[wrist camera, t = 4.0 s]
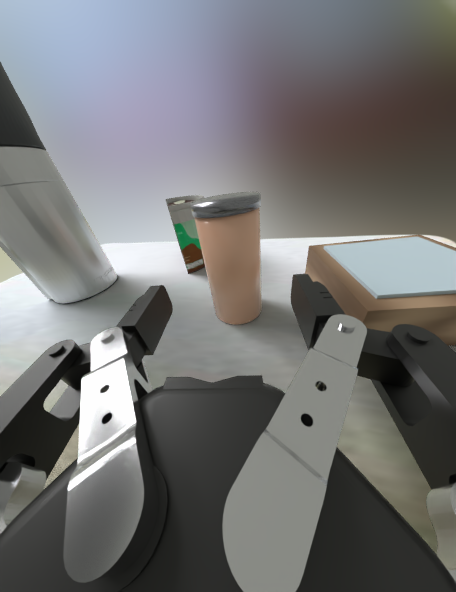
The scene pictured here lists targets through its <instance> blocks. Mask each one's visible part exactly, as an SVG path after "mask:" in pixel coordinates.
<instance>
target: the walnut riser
mask: <svg viewBox="0 0 456 592" xmlns="http://www.w3.org/2000/svg"><path fill="white" fill-rule="evenodd" d="M305 274H308V275H309V276H310V278H311V279H312V281H313V282H314V281H318V282H320V283H321V284H323V285H324V286H326V288H327V289H328V291H329V293H331V295H332V296H333V298H334V299H335V300H336V302H337V303H338V304H339V306H340V307H341V309H342V310H343V311H344V313H345V314H346V315H349V316H352V317H354V318H356V319H358V320H360V321H361V322H362V323H363V324H364V325H365V326H366V328H369V329H375V330H380V331H386V332H391V331H392V329H393V327H395V326H396V325H399V324H410V325H415V326H418V327H421V328H424V329H426V330H428V331H430V332H432V333H434V334H435V335H436V336H438V337H439V338H440V339H441V340H442V341H443V342H444V343H445V344H446V345H456V248H454V247H452V246H449V245H446V244H443V243H441V242H438V241H435V240H433V239H430V238H427V237H424V236H422V235H412V236H402V237H392V238H382V239H373V240H363V241H353V242H343V243H334V244H324V245H314V246H309V251H308V257H307V264H306V271H305Z"/></svg>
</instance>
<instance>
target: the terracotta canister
mask: <svg viewBox="0 0 456 592" xmlns="http://www.w3.org/2000/svg"><path fill="white" fill-rule="evenodd" d="M260 206H261V199H260V193H259V192H240V193H231V194H224V195H218V196H212V197H207V198H203V199H199V200H196V201H193V202H191V203H190V207H191V211H192V215H193V216H194V219H195V223H196V227H197V232H198V236H199V241H200V245H201V250H202V254H203V259H204V263H205V268H206V272H207V277H208V281H209V286H210V290H211V295H212V299H213V304H214V308H215V312H216V316H217V317H218V318H219V319H220V320H221V321H223V322H225V323H228V324H234V325H239V324H245V323H248V322H251V321H253V320H254V319H256V318H257V317H258V316H259V314H260V313H261V309H262V302H261V258H260V213H259V207H260Z"/></svg>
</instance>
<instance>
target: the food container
mask: <svg viewBox="0 0 456 592" xmlns="http://www.w3.org/2000/svg"><path fill="white" fill-rule="evenodd" d="M203 198H204V197H203V196H202V195H192V196H183V197H175V198H169V199H166V202H167V206H168V209H169V212H170V216H171V219H172V222H173V226H174V229H175V232H176V236H177V239H178V243H179V246H180V249H181V253H182V256H183V259H184V262H185V265H186V268H187V271H188V274H189V273H192V272H195V271H197V270H200V269H202V268H204V267H205V263H204V259H203V254H202V250H201V245H200V241H199V236H198V232H197V227H196V223H195V219H194V216H193V215H192V211H191V207H190V203H191V202H193V201H196V200H199V199H203Z"/></svg>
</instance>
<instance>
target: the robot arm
mask: <svg viewBox="0 0 456 592" xmlns="http://www.w3.org/2000/svg"><path fill="white" fill-rule="evenodd" d="M0 247H1V248H2V249H3V250H4V251H5V253H7V255H8V256H9V257H10V258H11V259H12V260H13V261H14V262H15V264H16V265H17V266H18V267H19V268H20V269H21V270H22V271H23V272H24V273H25V275H26V276H27V277H28V278H29V279H30V280H31V281H32V282H33V283H34V284H35V286H36V287H37V288H38V289H39V290H40V291H41V292H42V293H43V294H44V295H45V297H46V298H47V299H53V300H54V301H55V302H57V303H70V302H76V301H79V300H83V299H85V298H88V297H91V296H93V295H95V294H98V293H99V292H101V291H103V290H105V289H106V288H108V287H109V286H111V285H112V284H113V283H114V282H115V281H116V279H117V274H116V273H115V271H114V269H113V267H112V266H111V264H110V262H109V260H108V258H107V257H106V255H105V253H104V251H103V249H102V248H101V246H100V244H99V242H98V240H97V239H96V237H95V235H94V233H93V232H92V230H91V228H90V226H89V225H88V223H87V221H86V219H85V218H84V216H83V214H82V212H81V210H80V209H79V207H78V205H77V203H76V202H75V200H74V198H73V196H72V195H71V193H70V191H69V189H68V187H67V186H66V184H65V182H64V181H63V179H62V177H61V175H60V173H59V172H58V170H57V168H56V166H55V165H54V163H53V161H52V159H51V158H50V156H49V154H48V152H47V151H46V149H45V147H44V145H43V144H42V142H41V140H40V138H39V136H38V135H37V132H36V130H35V128H34V126H33V123H32V121H31V119H30V117H29V115H28V113H27V111H26V109H25V107H24V106H23V104H22V102H21V100H20V98H19V97H18V95H17V93H16V91H15V89H14V88H13V85H12V84H11V82H10V80H9V78H8V76H7V74H6V72H5V70H4V68H3V66H2V64H1V62H0ZM291 305H292V308H293V310H294V313H295V316H296V318H297V321H298V323H299V326H300V329H301V331H302V334H303V337H304V339H305V342H306V344H307V347H308V350H309V351H308V353H307V355H306V357H305V359H304V360H303V362H302V364H301V366H300V368H299V370H298V371H297V373H296V375H295V377H294V379H293V381H292V382H291V384H290V386H289V388H288V390H287V392H286V394H285V393H284V392H282V391H281V390H279V389H277V388H276V387H273V386H271V385H268V384H265V383H263V380H262V376H236V377H232V378H228V379H225V380H221V381H218V382H214V383H210V382H206V381H203V380H199V379H195V378H191V377H167V378H166V381H165V384H164V386H161V387H159V388H156V389H154V390H153V388H152V385H151V382H150V379H149V376H148V373H147V370H146V366H145V363H144V361H143V360H142V358H143V356H144V355H153V353H154V351H155V349H156V347H157V345H158V343H159V340H160V338H161V336H162V334H163V332H164V329H165V327H166V325H167V323H168V321H169V319H170V316H171V314H172V310H173V308H172V303H171V301H170V298H169V296H168V293H167V291H166V289H165V287H164V286H163V285H160V286H151V287H150V288H149V289H148V290H147V292H146V293H145V294H144V295H142V296H141V297H140V298H138V299H137V300H136V301H135V303H134V304H133V306H132V307H131V308H130V309H129V311H128V312H127V313H126V314H125V316H124V317H123V318H122V320H121V321H120V322H119V324H118V325H117V326H116V327H112V328H109V329H106V330H104V331H102V332H101V333H99V334H98V335H97V336H96V337H95V338H94V339H93V340H92V342H91V343H87V344H84V345H80V346H78V345H77V344H76V343H75V342H74V341H73V340H65V341H61V342H59V343H57V344H55V345H53V346H52V347H50V348H49V349H47V350H46V351H45V352H44V353H43V354H42V355H41V356H40V357H39V358H38V359H37V360H36V361H35V362H34V363H33V364H32V365H31V366H30V367H29V368H28V369H27V370H26V371H25V372H24V373H23V374H22V375H21V376H20V377H19V378H18V379H17V380H16V381H15V382H14V383H13V384H12V385H11V386H10V387H9V388H8V389H7V390H6V391H5V392H4V393H3V394H2V395H1V396H0V592H456V353H455V352H454V351H453V350H452V349H451V348H450V347H449V346H448V345H446V344H445V343H444V342H443V341H442V340H441V339H440V338H439V337H438V336H436V335H435V334H434V333H432V332H430V331H428V330H426V329H424V328H421V327H418V326H415V325H410V324H399V325H396V326H395V327H393V329H392V331H391V332H386V331H380V330H375V329H369V328H366V326H365V325H364V324H363V323H362V322H361V321H360V320H358V319H356V318H354V317H352V316H349V315H346V314H345V313H344V311H343V310H342V309H341V307H340V306H339V304H338V303H337V302H336V300H335V299H334V298H333V296H332V295H331V293H329V291H328V289H327V288H326V286H324V285H323V284H321V283H320V282H318V281H314V282H313V281H312V279H311V278H310V276H309V275H308V274H296V275H293V280H292V289H291ZM357 376H361V377H365V378H369V379H371V380H372V382H373V384H374V386H375V388H376V389H377V391H378V393H379V395H380V397H381V399H382V400H383V402H384V404H385V406H386V408H387V409H388V411H389V413H390V415H391V417H392V418H393V420H394V422H395V424H396V426H397V427H398V429H399V431H400V433H401V435H402V437H403V438H404V440H405V442H406V444H407V446H408V447H409V449H410V451H411V453H412V455H413V456H414V458H415V460H416V462H417V464H418V465H419V467H420V469H421V471H422V473H423V475H424V476H425V478H426V480H427V482H428V484H429V485H430V487H431V489H432V490H431V491H430V492H429V493H428V495H427V499H426V505H427V511H428V514H429V517H430V520H431V522H432V526H433V528H434V530H435V533H436V537H437V544H438V547H437V554H435V552H434V551H433V550H432V549H431V548H430V546H429V545H428V544H427V543H426V542H425V541H424V540H423V539H422V537H421V536H420V535H419V534H418V533H417V532H416V531H415V530H414V529H413V528H412V527H411V526H410V525H409V523H408V522H407V521H406V520H405V519H404V518H403V517H402V516H401V515H400V514H399V513H398V512H397V511H396V510H395V508H394V507H393V506H392V505H391V504H390V503H389V502H388V501H387V500H386V499H385V498H384V497H383V496H382V495H381V494H380V492H379V491H378V490H377V489H376V488H375V487H374V486H373V485H372V484H371V483H370V482H369V481H368V480H367V479H366V477H365V476H364V475H363V474H362V473H361V472H360V471H359V470H358V469H357V468H356V467H355V466H354V465H353V464H352V463H351V461H350V460H349V459H348V458H347V457H346V456H345V455H344V454H343V453H342V452H341V451H340V450H339V449H338V448H337V444H338V440H339V437H340V433H341V430H342V426H343V422H344V419H345V415H346V412H347V408H348V405H349V401H350V398H351V394H352V391H353V387H354V384H355V380H356V377H357ZM60 379H61V380H63V381H64V382H65V383H67V384H68V385H69V386H68V387H67V389H66V390H65V392H64V393H63V394H62V396H61V397H60V398H59V400H58V401H57V403H56V404H55V405H54V407H53V408H52V409H51V411H50V412H47V411H45V410H44V407H43V404H44V401H45V399H46V397H47V396H48V395H49V393H50V392H51V391H52V390H53V388H54V387H55V386H56V384H57V383H58V382H59V381H60ZM79 423H80V425H79V448H78V458H77V459H76V460H75V461H74V462H73V463H72V464H71V465H70V466H69V467H67V468H66V469H65V470H64V471H63V472H62V473H61V474H60V475H59V476H58V477H57V478H56V479H55V480H54V481H53V482H52V483H51V484H49V485H48V486H47V487H46V488H45V489H44V486H45V483H46V480H47V478H48V476H49V474H50V473H51V471H52V469H53V468H54V466H55V464H56V462H57V461H58V459H59V457H60V455H61V454H62V452H63V450H64V448H65V447H66V445H67V443H68V442H69V440H70V438H71V436H72V435H73V433H74V431H75V429H76V428H77V426H78V424H79Z"/></svg>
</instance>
